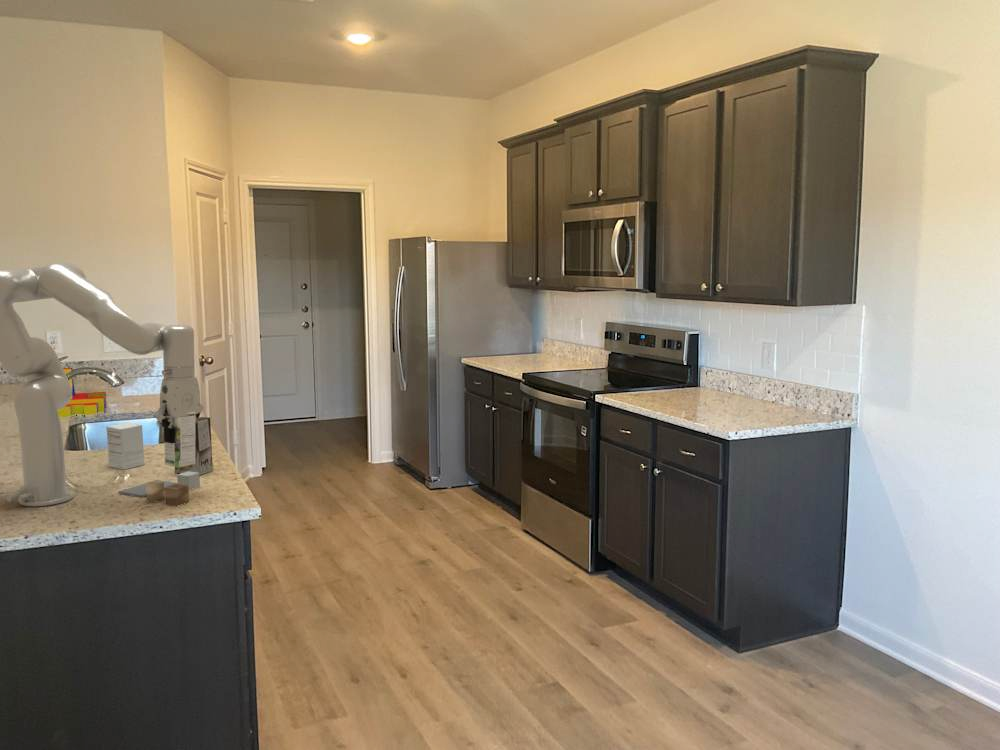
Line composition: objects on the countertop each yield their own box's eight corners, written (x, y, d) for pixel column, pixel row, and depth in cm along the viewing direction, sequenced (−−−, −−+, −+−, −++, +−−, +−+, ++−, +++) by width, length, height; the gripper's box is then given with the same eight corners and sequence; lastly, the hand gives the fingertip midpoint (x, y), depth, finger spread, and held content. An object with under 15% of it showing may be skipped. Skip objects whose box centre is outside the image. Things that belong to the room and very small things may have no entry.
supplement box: (130, 462, 252) (127, 422, 251) (145, 465, 249) (142, 424, 247) (108, 467, 246) (105, 426, 244) (123, 470, 242) (120, 428, 241)
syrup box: (163, 464, 214) (162, 410, 212) (183, 460, 219) (182, 407, 217) (177, 468, 211) (176, 413, 209) (196, 464, 216) (196, 410, 214)
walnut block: (177, 506, 206) (176, 489, 206) (165, 504, 208) (164, 487, 207) (189, 502, 210) (188, 485, 209) (177, 500, 211) (176, 483, 211)
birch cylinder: (155, 503, 209) (154, 486, 208) (142, 501, 211) (141, 484, 210) (168, 498, 213) (167, 481, 212) (156, 496, 215) (155, 480, 214)
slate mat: (143, 497, 214) (142, 495, 214) (118, 493, 217) (118, 491, 217) (180, 485, 225) (180, 483, 225) (156, 482, 229) (156, 479, 229)
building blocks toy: (51, 419, 323) (47, 374, 321) (57, 409, 346) (54, 367, 343) (103, 416, 330) (101, 371, 328) (106, 406, 353) (104, 364, 351)
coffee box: (214, 470, 242) (211, 417, 240) (200, 475, 236) (197, 421, 234) (187, 468, 245) (185, 415, 243) (173, 473, 239) (170, 419, 236)
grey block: (189, 490, 221) (188, 476, 220) (178, 488, 223) (177, 474, 222) (200, 486, 225) (199, 472, 224) (189, 485, 226) (188, 471, 226)
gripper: (163, 377, 202) (164, 447, 205) (214, 370, 218) (214, 436, 220) (141, 374, 205) (143, 444, 208) (193, 368, 221) (193, 433, 223)
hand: (180, 439), depth 214 cm, fingers closed on syrup box, 6 cm apart
